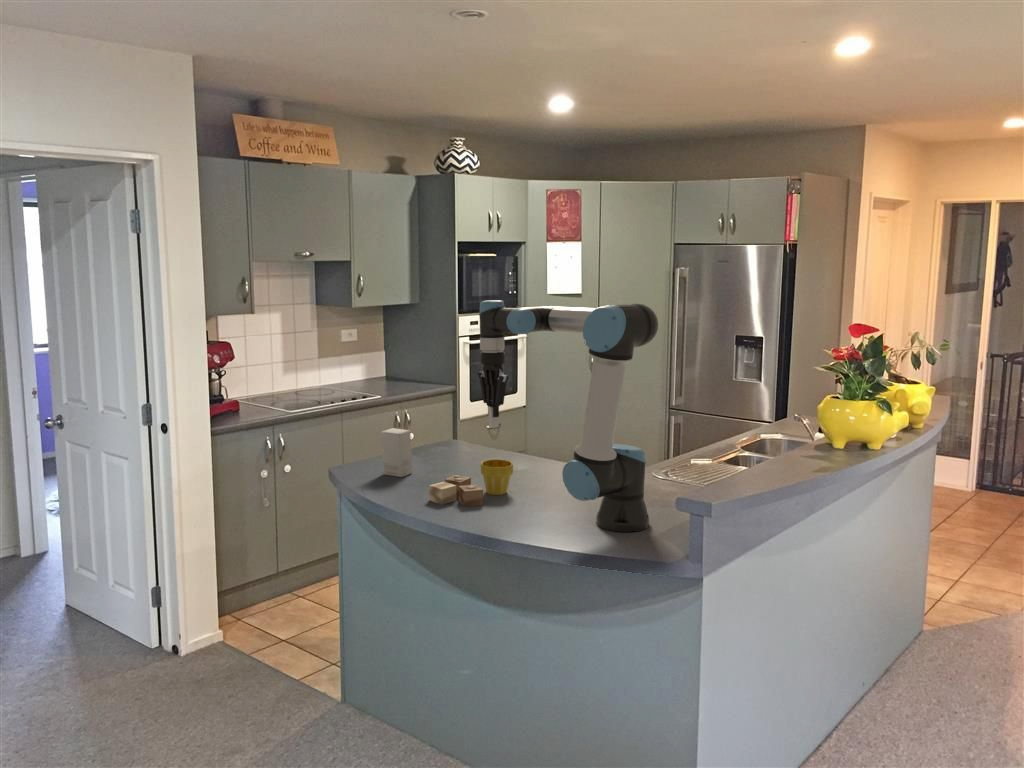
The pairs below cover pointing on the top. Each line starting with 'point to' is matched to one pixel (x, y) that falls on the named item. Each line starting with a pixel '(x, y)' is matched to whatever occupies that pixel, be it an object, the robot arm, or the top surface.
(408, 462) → the skincare box
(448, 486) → the plain block
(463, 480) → the marked block
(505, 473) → the plant pot
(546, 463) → the top surface
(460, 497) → the marked block
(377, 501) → the top surface
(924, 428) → the top surface
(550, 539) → the top surface
